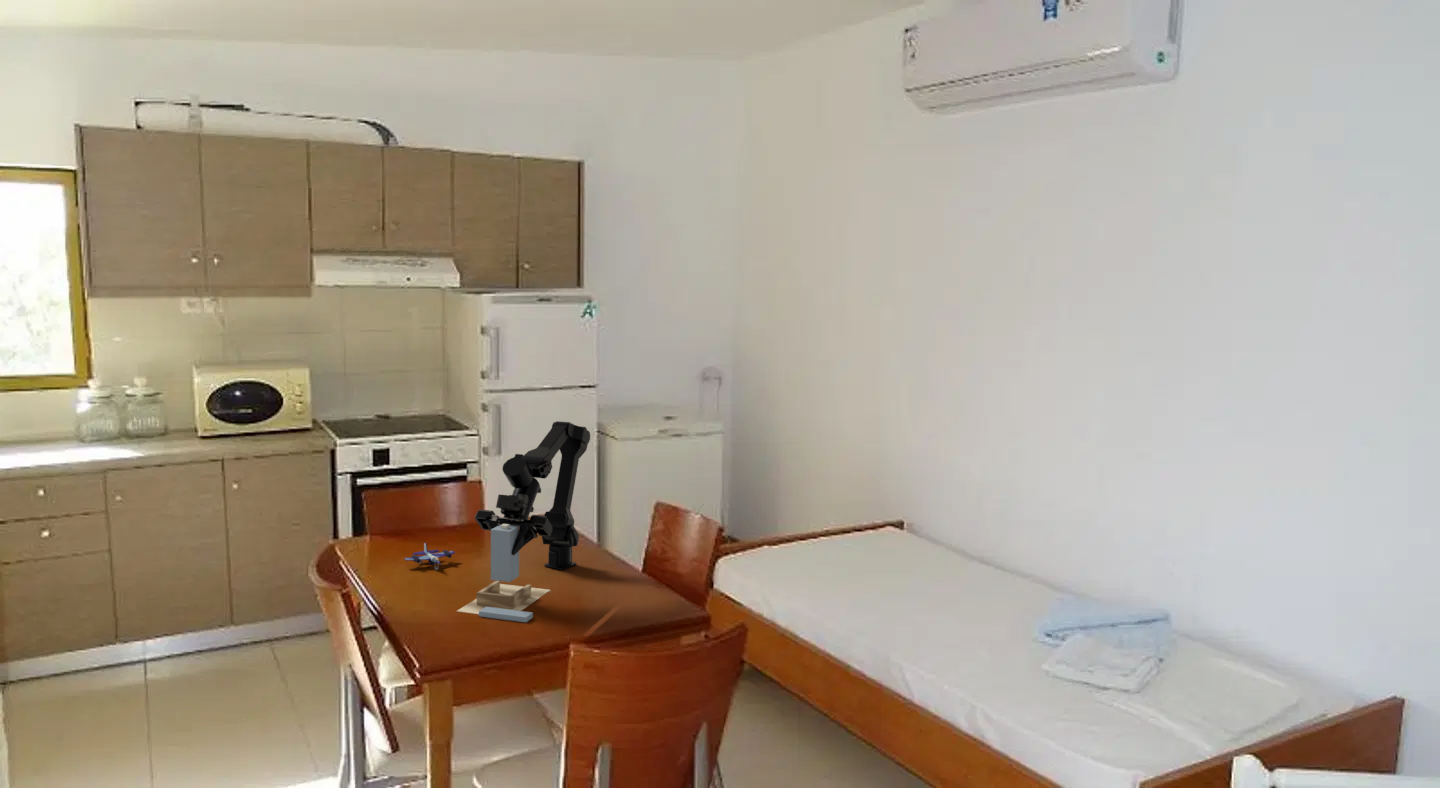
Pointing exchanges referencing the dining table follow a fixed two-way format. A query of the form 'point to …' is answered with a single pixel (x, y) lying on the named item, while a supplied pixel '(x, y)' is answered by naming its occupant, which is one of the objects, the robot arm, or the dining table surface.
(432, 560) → the toy airplane
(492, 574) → the blue-grey rectangular block
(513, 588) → the jig
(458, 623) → the dining table surface
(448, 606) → the dining table surface
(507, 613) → the light blue bar
